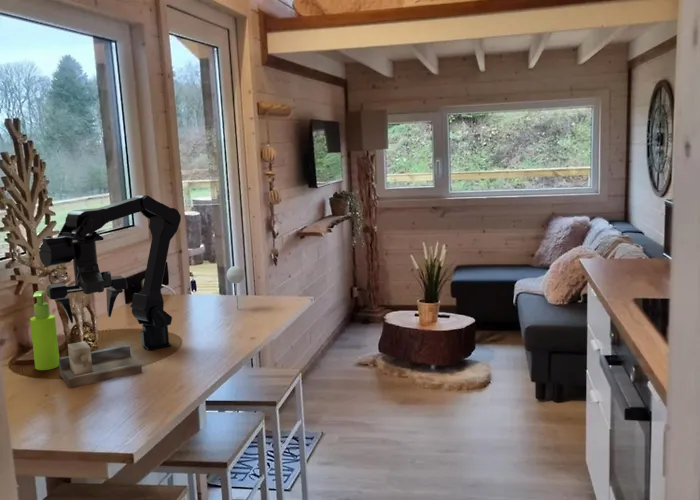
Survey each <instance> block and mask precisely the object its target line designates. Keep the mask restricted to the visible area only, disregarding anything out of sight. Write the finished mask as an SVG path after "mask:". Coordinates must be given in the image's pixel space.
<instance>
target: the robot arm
mask: <svg viewBox="0 0 700 500" xmlns="http://www.w3.org/2000/svg"><path fill="white" fill-rule="evenodd" d="M136 213H140V214H142V216H144V217H145V218H146V219H148V220H149V224H148V225H149V226H148V227H149V228H148V229H149V231H150V234H151V243H150V247H149V254H148V258H147V264H146V267H145V274H144V278H143V279H144V280H143V285H142V288H140V291H139V292H138V293H136V292H133V295H132V301H131V304H130V308H131V314H132V315H133V317H134V318H135V319H136V320H137V323H138V324H139V325H141V326H142V330H141V331H140V337H141V339H140V340H141V346H143V347H144V348H145V349H147V350H148V351H152V350H156V349H161V348H166V347H170V346H172V343H170V341H169V340H170V338H169V327H168V326H170V325H171V324H172V321H173V317H172V316H171V315H170V314H169V313H167V311H165V310H164V305H165V301H164V297H163V295H162V286H163V279H164V274H165V270H166V264H167V260H168V253H169V249H170V243H171V240H172V239H173V237H174V236H175V235H176V234H177V231H178V230H179V226H180V223H181V219H182V217H181V213H180V212H179V210H178V209H177V208H175V207H170V206H169V205H166V204H164V203H162V202H159V201H158V200H156V199H155V198H153V197H151V196H150V195H146V194H138V195H135V196H132V197H130V198H126V199H124V200H120V201H117V202H114V203H110V204H107V205H104V206H101V207H97V208H96V207H95V208H83V209H74V210H71V211H69V212H68V213H67V215H66V217H65V220H64V221H65V222H64V224H63V226H62V228H61V229H60V231H59V233H58V235H57V237H43V238H42V244H41V245H40V247H39V251H38V256H39V259H40V262H41V264H42V265H43V266H45V267H53V266H57V265H64V264H70V263H71V262H72V266H73V276H74V284H71V285H66V284H65V283H63V282H61V283H60V282H59V283H52V284H48V285H47V286H46V289H45V290H46V297H48V299H50V300H54V301H55V302H56V303H58V302H59V303H60V305H61V306H62V308H63V310H64V311H65V313H66V315H67V318H68V319H69V322H70V324H73V323H74V318H73V312H72V308H71V307H72V306H71V303H70V298H69V297H68V294H72V293H73V294H74V293H81V292H83V294H85V295H91V294H95V293H98V294H99V293H103V292H104V290H105V291H106V312H107V317H108V318H111V317H112V313H113V309H114V305H115V303H116V300H117V297H118V296H119V294H121V293H123V292H124V290H127V289H129V283H128V280H127V279H126V277H124V276H122V275H113V276H112V273H111V271H110V270H106V271H100V267H99V263H98V255H97V254H98V252H97V244H96V243H97V241H98V242H99V241H104V237H103V236H102V235H100V234H99V233H98V232H97V231H99V230H100V229H102V228H103V227H104V226H105V225H107V224H108V223H110V222H114V221H117V220H119V219H122V218H125V217H128V216H131V215H134V214H136Z"/></svg>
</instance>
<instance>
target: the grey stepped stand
mask: <svg viewBox="0 0 700 500" xmlns="http://www.w3.org/2000/svg"><path fill="white" fill-rule="evenodd" d="M91 360H92V370H93V371H89V372H84V373H79V374H75V373H74V372H73V371H72V370H71V368H70V362H69V355H68V356H62V357H59V365H60V366H59V372H60V373H59V374H60V377H61V378H62V379H63V381H64V382H65V384H66V385H67V386H68V388H70V389H71V388H76V387H80V386H85V385H90V384H94V383H95V384H96V383H98V382H99V383H100V382H105V381H109V380H114V379H119V378H123V377H128V376H132V375H136V374H137V375H138V374H141V373H143V368H142V366H143V365H142V364H141V363H140V362H139V361H138V360H137V359H135V357H133V356H132V355H131V346H130V345H129V344H125V345H121V346H120V345H119V346H115V347H114V346H113V347H108V348H104V349H99V350H93V351H91Z"/></svg>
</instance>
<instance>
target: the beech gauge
mask: <svg viewBox="0 0 700 500" xmlns="http://www.w3.org/2000/svg"><path fill="white" fill-rule="evenodd" d="M67 352H68V356H69V362H70V368H71V370H72V371H73V372H74V373H75V374H79V373H84V372H89V371H93V370H92V360H91V352H92V351H91V346H90V345H89V344H88V343H87V342H86V341H79V342H73V343H68V344H67Z"/></svg>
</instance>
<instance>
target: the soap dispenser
mask: <svg viewBox="0 0 700 500" xmlns="http://www.w3.org/2000/svg"><path fill="white" fill-rule="evenodd" d="M45 290H46V289H45ZM45 290H37V291H35V292H34V293H33V296H32V297H33V299H36V303H34V304H33V309H34V316H32V317H30V318H29V323H30V333H31V334H30V335H31V341H32V342H31V343H32V350H33V359H34V369H36V371H49V370H52V369H55V368H58V367H60V365H59V358H60V352H59V342H58V333H57V323H56V316H55V314H50V307H49V303H48V302H46V301H45V295H44V294H45Z"/></svg>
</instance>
